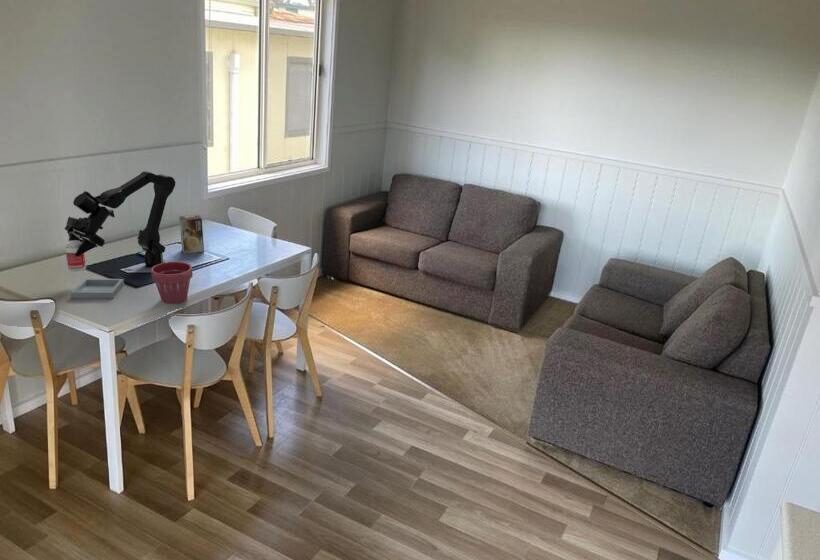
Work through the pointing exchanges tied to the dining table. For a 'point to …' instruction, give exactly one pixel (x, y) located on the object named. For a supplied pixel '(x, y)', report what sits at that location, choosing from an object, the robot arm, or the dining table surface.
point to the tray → (97, 289)
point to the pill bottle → (74, 257)
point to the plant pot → (172, 281)
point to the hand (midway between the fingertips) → (71, 253)
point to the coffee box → (191, 234)
